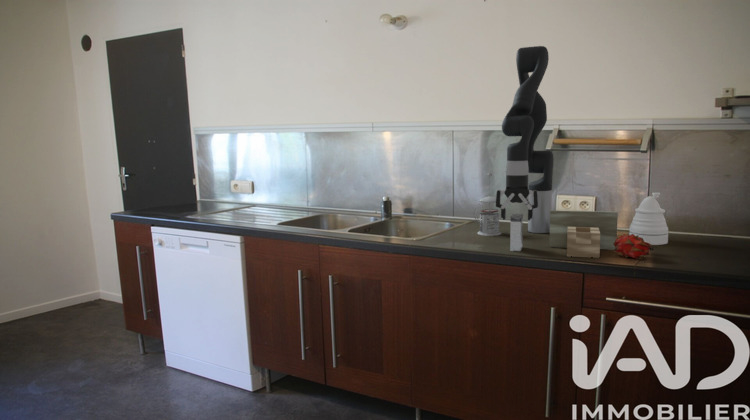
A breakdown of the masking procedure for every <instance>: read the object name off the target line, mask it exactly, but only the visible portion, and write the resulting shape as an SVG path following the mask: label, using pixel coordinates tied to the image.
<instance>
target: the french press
mask: <svg viewBox="0 0 750 420" xmlns="http://www.w3.org/2000/svg"><path fill="white" fill-rule="evenodd" d="M486 175H487V176H489V177H488V178H489V179H488V190H489V191H488V196H485V197H482V198H480V199H479V204H478V205H476V206H475V208H474V211H473V215H474V219H475V220H477V222H478V223H479V231H478V232H477V235H480V236H485V237H486V236H489V237H490V236H491V237H492V236H493V237H494V236H500V235H502V232H501V231H500V213H498V212H499V210H498V209H497V208H490V203H496V197H494V196H491V195H490V194H491V192H490V191H491V188H490V187H491V186H490V185H491V183H490V182H491V179H490V178H491V176H493V174H492V172H488V173H487V174H486ZM480 202H481V203H485V204H486V203H488V208H483V207H484V206H483V204H480ZM479 208H480V212H481V213H479V217H478V210H479Z"/></svg>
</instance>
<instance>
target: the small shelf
mask: <svg viewBox="0 0 750 420" xmlns="http://www.w3.org/2000/svg"><path fill="white" fill-rule="evenodd" d="M618 215H619V214H618V211H598V210H597V211H595V210H594V211H591V210H590V211H589V210H588V211H587V210H550V232H549V245H548V246H549V248H563V249H564V248H566V257H571V256H572V257H575V258H591V257H593V258H595V259H599V258H600V257H601V255H600V254H601V250H609V251H610V250H611V251H612V250H613V251H614V250H615V246H614V244H613V243H614V242H615V239H617V238H618Z"/></svg>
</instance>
